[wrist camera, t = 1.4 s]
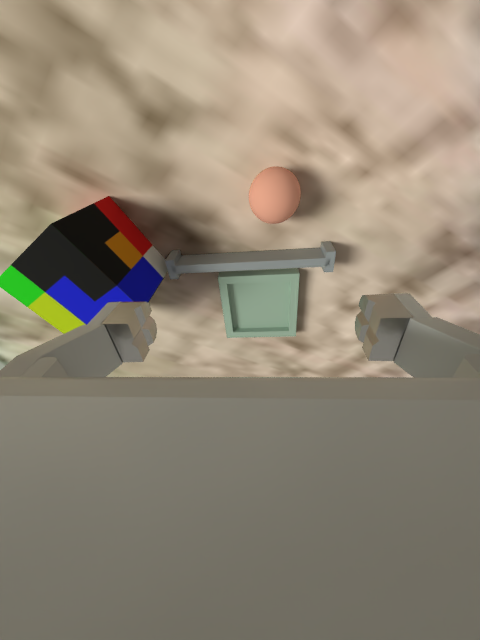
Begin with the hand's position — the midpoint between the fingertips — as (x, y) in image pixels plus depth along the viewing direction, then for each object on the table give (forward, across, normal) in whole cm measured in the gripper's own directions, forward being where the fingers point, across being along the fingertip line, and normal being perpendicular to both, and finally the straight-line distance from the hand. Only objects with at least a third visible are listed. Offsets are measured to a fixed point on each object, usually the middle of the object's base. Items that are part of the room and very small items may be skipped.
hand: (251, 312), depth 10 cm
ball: (+19, -2, -1) cm, 19 cm away
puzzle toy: (+22, +18, +5) cm, 29 cm away
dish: (+22, 0, +13) cm, 26 cm away
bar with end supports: (+22, +1, +6) cm, 23 cm away
